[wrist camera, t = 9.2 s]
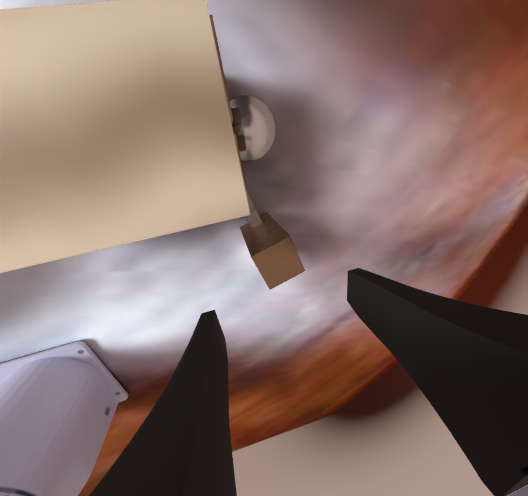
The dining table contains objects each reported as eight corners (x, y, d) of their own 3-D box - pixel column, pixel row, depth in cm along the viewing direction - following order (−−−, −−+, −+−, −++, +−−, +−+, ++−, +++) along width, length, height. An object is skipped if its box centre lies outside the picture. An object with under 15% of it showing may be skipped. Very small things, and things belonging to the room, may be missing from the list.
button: (275, 153, 16) (280, 153, 15) (228, 166, 16) (229, 166, 15) (264, 94, 15) (268, 89, 13) (211, 107, 14) (211, 102, 13)
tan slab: (244, 191, 17) (263, 211, 11) (51, 233, 15) (-66, 288, 9) (219, 69, 13) (224, -8, 7) (-40, 103, 11) (-352, 36, 5)
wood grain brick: (279, 239, 19) (305, 270, 14) (254, 253, 19) (269, 289, 14) (211, 91, 14) (210, 49, 8) (174, 110, 14) (149, 80, 8)
